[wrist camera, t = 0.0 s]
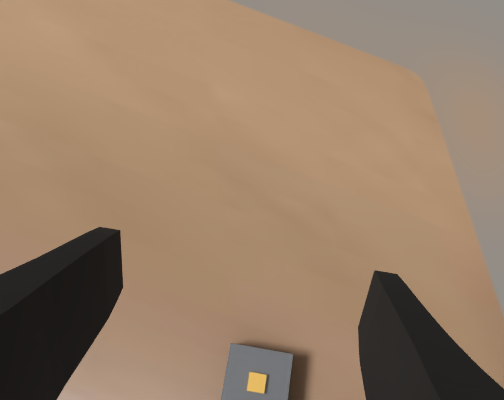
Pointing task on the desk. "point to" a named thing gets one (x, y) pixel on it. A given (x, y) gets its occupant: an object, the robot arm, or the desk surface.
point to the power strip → (256, 374)
